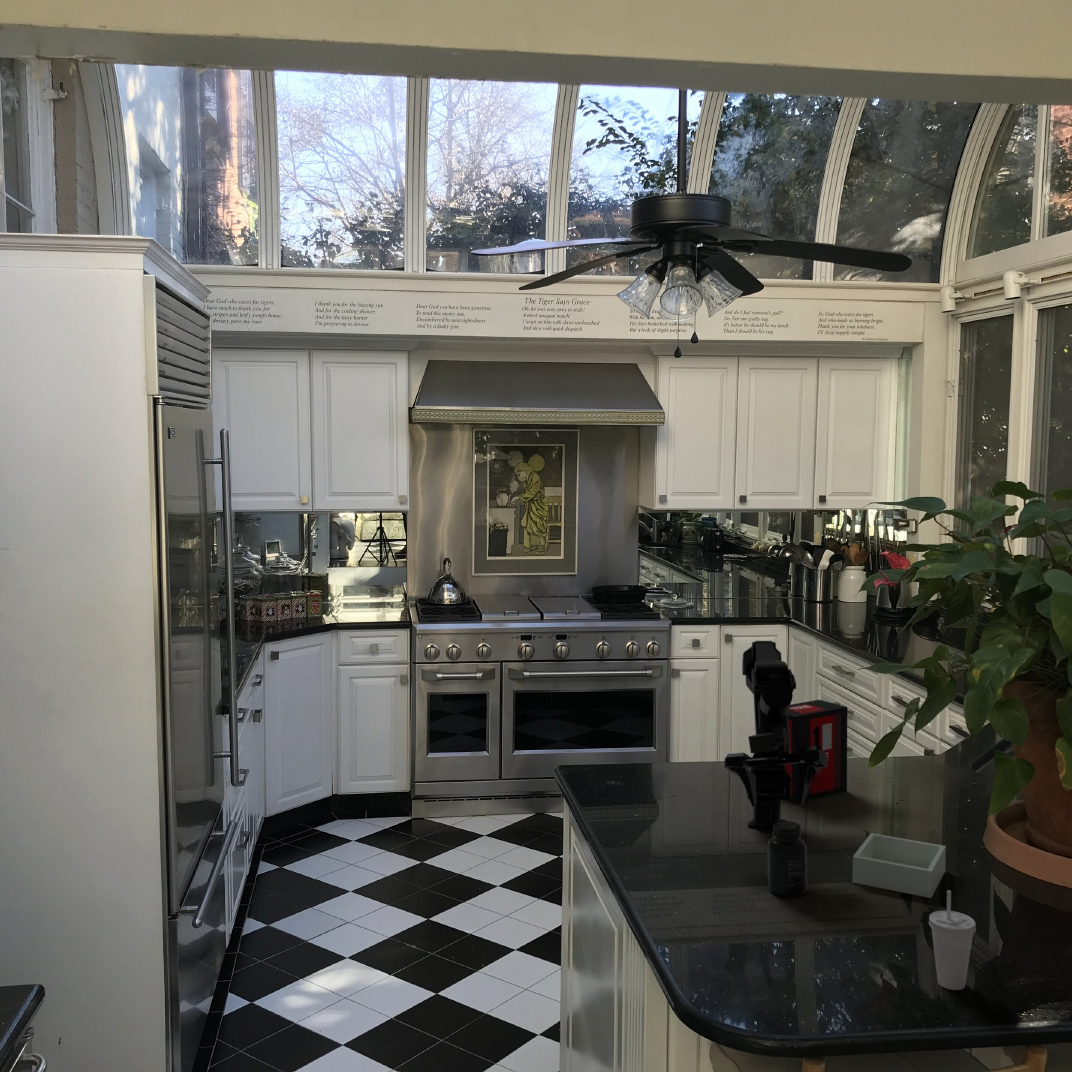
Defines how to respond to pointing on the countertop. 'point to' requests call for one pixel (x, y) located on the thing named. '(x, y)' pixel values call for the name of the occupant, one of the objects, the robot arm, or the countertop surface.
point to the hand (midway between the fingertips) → (777, 805)
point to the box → (899, 865)
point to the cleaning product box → (819, 746)
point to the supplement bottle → (787, 860)
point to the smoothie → (951, 945)
